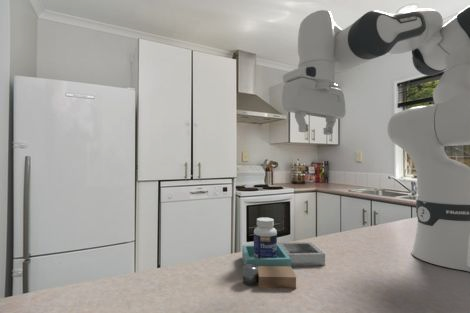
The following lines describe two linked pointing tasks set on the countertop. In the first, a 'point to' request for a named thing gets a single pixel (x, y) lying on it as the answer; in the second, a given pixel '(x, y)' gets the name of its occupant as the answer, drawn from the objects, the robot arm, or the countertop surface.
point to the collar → (303, 253)
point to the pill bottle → (265, 239)
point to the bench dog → (250, 274)
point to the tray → (279, 261)
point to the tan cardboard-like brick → (276, 277)
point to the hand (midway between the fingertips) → (316, 133)
